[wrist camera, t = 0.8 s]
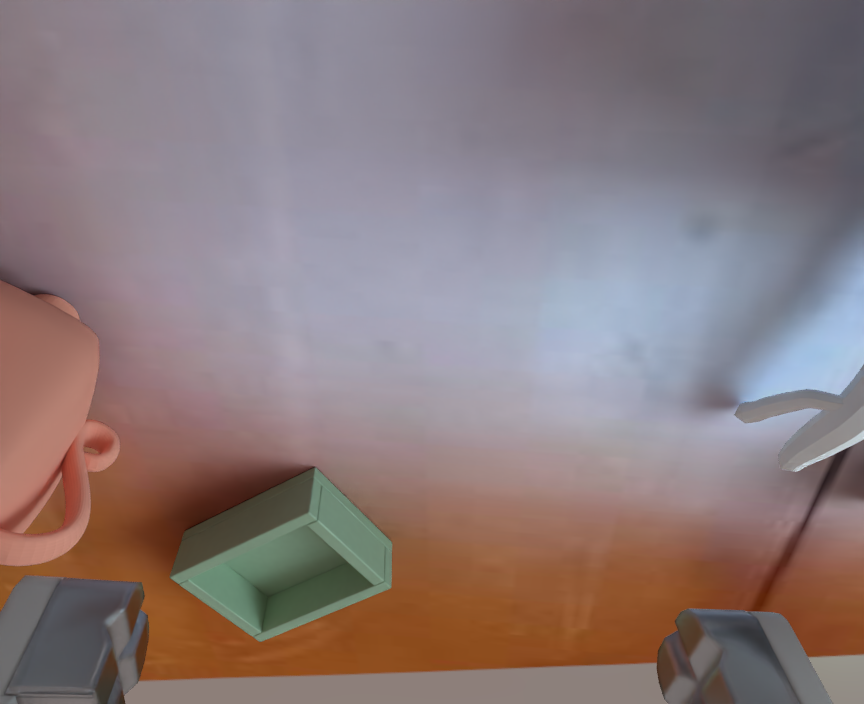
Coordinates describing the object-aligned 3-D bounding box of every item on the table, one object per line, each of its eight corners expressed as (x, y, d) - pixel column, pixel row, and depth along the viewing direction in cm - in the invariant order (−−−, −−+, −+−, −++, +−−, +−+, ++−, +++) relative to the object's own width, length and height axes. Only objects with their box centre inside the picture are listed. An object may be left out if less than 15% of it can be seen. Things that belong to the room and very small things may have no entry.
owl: (1140, 267, 24) (1393, 611, 15) (743, 369, 32) (770, 631, 23) (1013, -720, 12) (1847, -1567, 3) (427, -156, 20) (251, 0, 11)
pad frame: (184, 530, 31) (168, 577, 29) (315, 466, 29) (308, 512, 27) (268, 595, 34) (260, 642, 32) (392, 542, 32) (391, 588, 30)
